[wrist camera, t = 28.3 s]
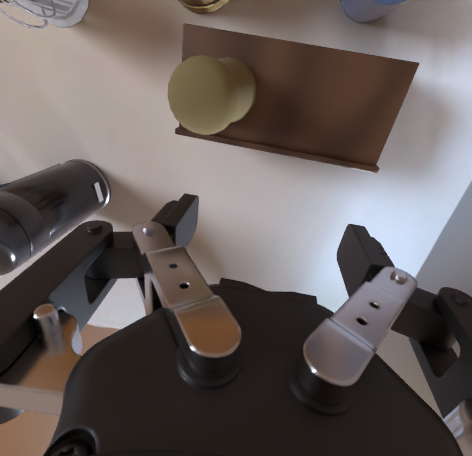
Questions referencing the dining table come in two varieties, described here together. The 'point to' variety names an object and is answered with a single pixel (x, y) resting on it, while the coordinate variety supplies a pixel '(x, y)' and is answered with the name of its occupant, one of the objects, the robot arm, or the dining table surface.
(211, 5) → the wooden mug
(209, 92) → the olive green peg figure
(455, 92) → the dining table surface
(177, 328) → the robot arm
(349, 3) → the cup
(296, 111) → the brown wooden shelf
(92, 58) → the dining table surface
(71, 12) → the french press
